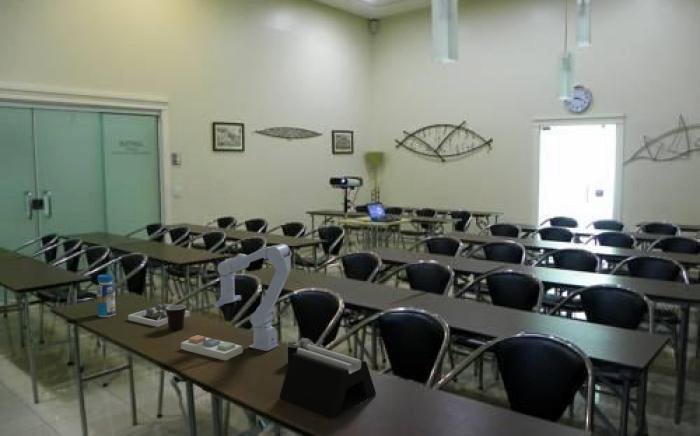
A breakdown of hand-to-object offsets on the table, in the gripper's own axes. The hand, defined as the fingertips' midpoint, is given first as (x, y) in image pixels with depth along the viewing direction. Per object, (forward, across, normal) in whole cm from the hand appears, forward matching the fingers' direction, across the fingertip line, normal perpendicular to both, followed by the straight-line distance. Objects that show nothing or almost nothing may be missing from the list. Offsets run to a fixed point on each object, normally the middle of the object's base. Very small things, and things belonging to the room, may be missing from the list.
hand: (228, 320), depth 232 cm
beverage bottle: (+10, +2, -78) cm, 79 cm away
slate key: (+7, +12, +2) cm, 14 cm away
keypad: (+9, +12, +2) cm, 15 cm away
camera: (+10, +4, +43) cm, 44 cm away
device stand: (+10, +24, +65) cm, 70 cm away
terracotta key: (+7, +12, -6) cm, 15 cm away
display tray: (+9, -8, -52) cm, 53 cm away
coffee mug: (+10, -2, -33) cm, 34 cm away
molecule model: (+10, -8, -53) cm, 55 cm away
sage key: (+7, +12, +10) cm, 17 cm away
